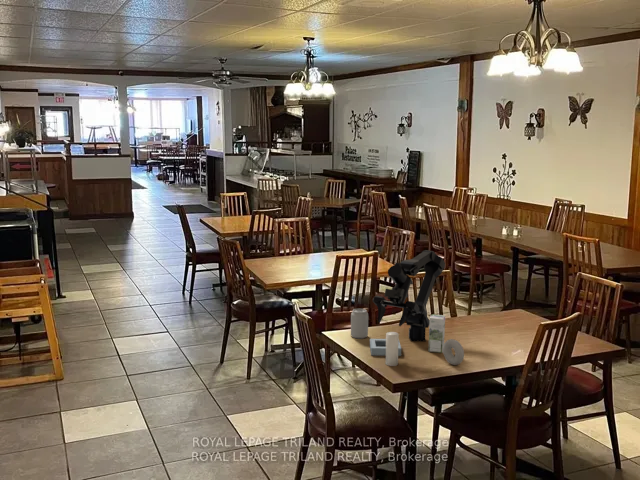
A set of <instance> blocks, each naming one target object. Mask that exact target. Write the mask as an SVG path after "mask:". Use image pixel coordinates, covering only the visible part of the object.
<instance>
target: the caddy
mask: <svg viewBox="0 0 640 480" xmlns="http://www.w3.org/2000/svg"><path fill="white" fill-rule="evenodd" d="M369 349H370V356H384V357H386V338H369ZM401 356H402V345H401V343H400V341H399V342H398V357H401Z"/></svg>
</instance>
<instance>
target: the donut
mask: <svg viewBox="0 0 640 480" xmlns="http://www.w3.org/2000/svg"><path fill="white" fill-rule="evenodd" d="M453 350H454V354H455V355H454V354H453ZM442 354H443V356H444V358H445V360H446V361H447V363H448V364H450V365H453V366H457V365H460V364H461V363H462V362H464V361H463V360H464V358H465V350H464V348H463V345H462V344H461V343H460V341H458V339H457V340H456V339H453V338H450V339H447V340H445V341H444V346H443V352H442Z"/></svg>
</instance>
